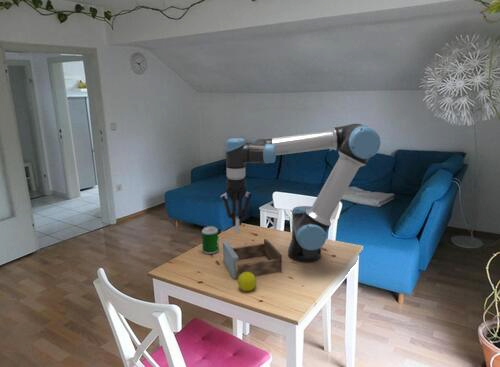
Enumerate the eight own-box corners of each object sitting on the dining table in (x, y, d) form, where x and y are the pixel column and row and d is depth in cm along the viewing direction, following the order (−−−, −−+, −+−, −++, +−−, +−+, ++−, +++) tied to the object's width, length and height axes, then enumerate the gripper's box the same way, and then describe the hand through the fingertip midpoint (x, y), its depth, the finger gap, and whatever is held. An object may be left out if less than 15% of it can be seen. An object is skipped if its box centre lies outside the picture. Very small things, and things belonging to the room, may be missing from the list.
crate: (266, 255, 171) (266, 238, 169) (281, 272, 154) (281, 255, 152) (227, 261, 165) (226, 244, 163) (238, 280, 148) (238, 261, 146)
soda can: (216, 256, 170) (215, 231, 167) (200, 255, 172) (199, 230, 169) (220, 249, 177) (219, 226, 175) (205, 248, 179) (204, 225, 176)
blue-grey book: (228, 259, 165) (227, 241, 162) (238, 277, 149) (238, 257, 146) (223, 260, 164) (222, 241, 162) (233, 278, 148) (233, 258, 146)
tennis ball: (240, 295, 137) (240, 278, 135) (236, 286, 144) (235, 270, 142) (258, 292, 139) (258, 275, 137) (253, 283, 146) (253, 267, 144)
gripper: (248, 174, 153) (249, 227, 159) (217, 176, 149) (219, 231, 155) (254, 178, 146) (254, 234, 152) (222, 180, 142) (223, 238, 148)
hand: (236, 232), depth 153 cm, fingers closed
